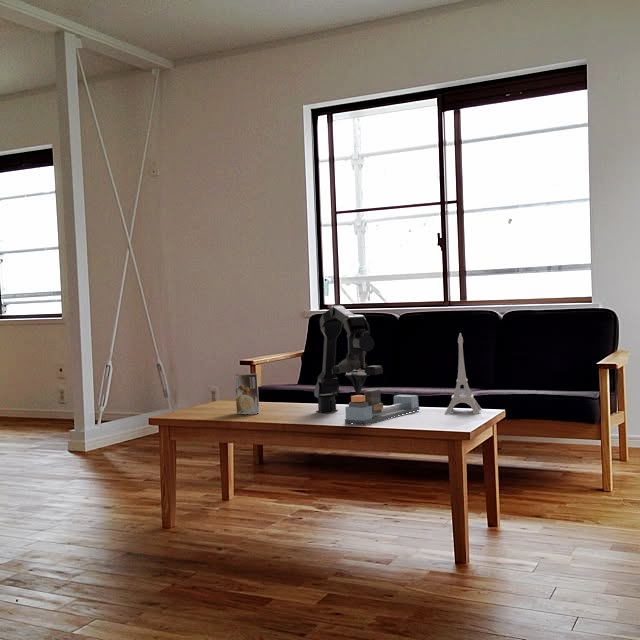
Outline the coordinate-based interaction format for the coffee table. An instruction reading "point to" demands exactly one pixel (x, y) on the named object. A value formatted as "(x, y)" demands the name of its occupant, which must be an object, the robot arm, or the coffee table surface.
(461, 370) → the eiffel tower
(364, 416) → the rail
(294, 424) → the coffee table surface
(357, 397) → the button
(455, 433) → the coffee table surface
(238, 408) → the coffee box
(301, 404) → the coffee table surface
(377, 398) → the carriage
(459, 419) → the coffee table surface
